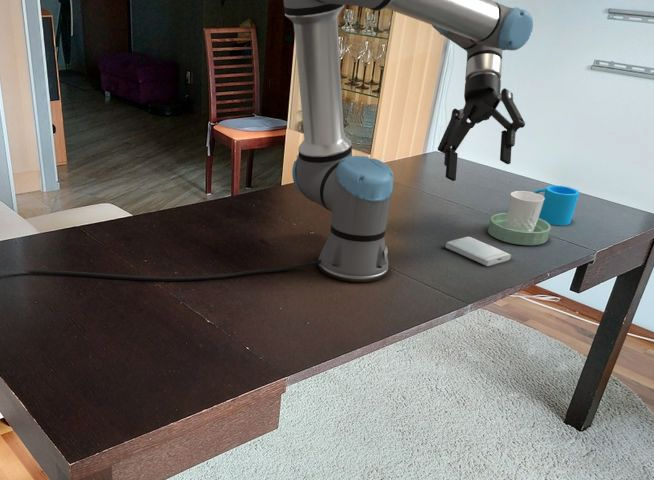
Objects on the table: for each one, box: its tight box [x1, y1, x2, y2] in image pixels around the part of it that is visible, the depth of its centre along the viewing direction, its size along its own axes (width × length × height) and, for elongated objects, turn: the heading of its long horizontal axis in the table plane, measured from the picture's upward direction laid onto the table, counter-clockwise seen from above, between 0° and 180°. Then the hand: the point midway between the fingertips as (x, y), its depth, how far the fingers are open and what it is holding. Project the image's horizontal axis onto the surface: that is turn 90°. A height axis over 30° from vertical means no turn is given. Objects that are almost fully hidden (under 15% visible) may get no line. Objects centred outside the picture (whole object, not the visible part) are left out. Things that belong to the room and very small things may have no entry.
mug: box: [532, 184, 581, 226], centre depth 181 cm, size 12×8×8 cm
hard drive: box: [445, 236, 512, 267], centre depth 159 cm, size 2×8×12 cm
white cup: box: [504, 190, 545, 232], centre depth 168 cm, size 8×8×10 cm
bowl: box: [487, 212, 552, 246], centre depth 170 cm, size 14×14×4 cm
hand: (476, 170), depth 148 cm, fingers open, 13 cm apart
